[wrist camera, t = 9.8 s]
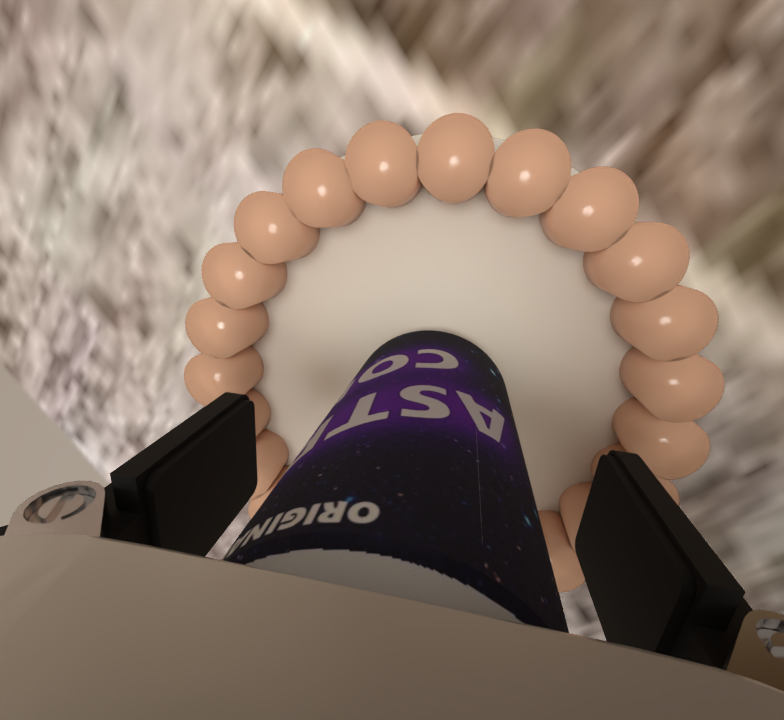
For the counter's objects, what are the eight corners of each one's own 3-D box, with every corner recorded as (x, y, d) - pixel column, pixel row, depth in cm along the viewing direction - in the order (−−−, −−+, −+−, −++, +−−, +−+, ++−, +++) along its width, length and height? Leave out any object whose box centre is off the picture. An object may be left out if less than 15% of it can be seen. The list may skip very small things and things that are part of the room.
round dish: (753, 153, 12) (840, 131, 9) (602, 588, 18) (627, 653, 16) (213, 122, 15) (154, 97, 12) (238, 517, 21) (203, 563, 18)
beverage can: (515, 330, 14) (706, 722, 3) (495, 465, 16) (567, 1018, 5) (362, 318, 15) (63, 588, 4) (360, 447, 17) (155, 883, 6)
